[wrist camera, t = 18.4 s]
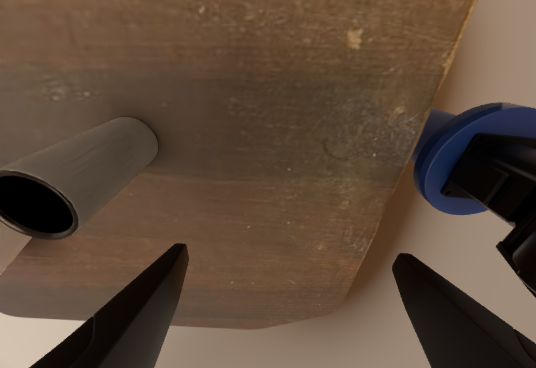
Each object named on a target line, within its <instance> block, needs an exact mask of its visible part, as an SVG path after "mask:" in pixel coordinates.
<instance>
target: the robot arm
mask: <svg viewBox="0 0 536 368" xmlns="http://www.w3.org/2000/svg"><path fill="white" fill-rule="evenodd" d="M479 138H480V139H479ZM440 193H441V194H442V195H443V196H445V197H453V198H465V199H474V200H475V201H477V202H478V203H480V204H481V205H482V206H484V207H485V208H487V209H488V210H490V211H491V212H492V213H494V214H495V215H497V216H498V217H500V218H501V219H502V220H504V221H505V222H507V223H508V224H509V225H511V226H513V227H514V228H513V230H512V231H511V232H510V233H509V234H508V235H507V236H506V237H505V239H504V240H503V241H500V242H499V243H498V244H497V245H496V248H497V249H498V251H499V252H500V253H501V254H502V256H503V257H504V258H505V260H506V261H507V262H508V264H509V265H510V266H511V268H512V269H513V270H514V271H515V273H516V274H517V276H518V277H519V278H520V280H521V281H522V282H523V284H524V285H525V286H526V287H527V289H528V290H529V291H530V292H531V293H532V294H533V295H534V296H535V297H536V138H527V137H518V136H509V135H500V134H490V133H477V134H475V135H474V136H473V137H472V139H471V141H470V142H469V144H468V146H467V147H466V149H465V151H464V152H463V154H462V156H461V157H460V159H459V161H458V162H457V164H456V166H455V167H454V169H453V171H452V172H451V174H450V175H449V177H448V179H447V180H446V182H445V184H444V185H443V187H442V189H441V191H440ZM188 261H189V256H188V250H187V245H186V244H182V243H176V244H174V245H173V246H172V247H171V248H170V249H168V250H167V251H166V252H165V253H164V254H163V255H162V256H160V257H159V258H158V259H157V260H156V261H155V262H154V263H152V264H151V265H150V266H149V267H148V268H147V269H146V270H144V271H143V272H142V273H141V274H140V275H139V276H138V277H136V278H135V279H134V280H133V281H132V282H131V283H130V284H128V285H127V286H126V287H125V288H124V289H123V290H122V291H120V292H119V293H118V294H117V295H116V296H115V297H114V298H112V299H111V300H110V301H109V302H108V303H107V304H106V305H104V306H103V307H102V308H101V309H100V310H99V311H97V312H96V313H95V314H94V317H91V318H89V319H88V320H87V321H86V322H85V323H84V324H83V325H81V326H80V327H79V328H78V329H77V330H76V331H75V332H73V333H72V334H71V335H70V336H68V337H67V338H66V339H65V340H64V341H63V342H61V343H60V344H59V345H57V346H56V347H55V348H54V349H52V350H51V351H50V352H49V353H47V354H46V355H45V356H44V357H43V358H41V359H40V360H38V361H37V362H36V363H35V364H33V365H32V366H31V367H29V368H154V367H155V364H156V361H157V358H158V356H159V353H160V350H161V348H162V345H163V342H164V339H165V337H166V334H167V331H168V329H169V326H170V323H171V320H172V318H173V315H174V312H175V309H176V307H177V304H178V301H179V297H180V294H181V290H182V286H183V282H184V278H185V274H186V270H187V266H188ZM392 271H393V274H394V277H395V280H396V283H397V286H398V289H399V292H400V295H401V298H402V301H403V303H404V306H405V309H406V311H407V314H408V316H409V318H410V320H411V323H412V325H413V327H414V329H415V332H416V334H417V336H418V338H419V341H420V343H421V345H422V347H423V350H424V352H425V354H426V356H427V359H428V361H429V363H430V365H431V368H536V344H535V343H534V342H532V341H531V340H530V339H528V338H527V337H525V336H524V335H523V334H521V333H520V332H519V331H517V330H515V329H513V327H512V326H510V325H509V324H507V323H506V322H505V321H503V320H502V319H500V318H499V317H498V316H496V315H495V314H493V313H492V312H491V311H489V310H488V309H486V308H485V307H484V306H482V305H481V304H480V303H478V302H477V301H475V300H474V299H473V298H471V297H470V296H468V295H467V294H466V293H464V292H463V291H461V290H460V289H459V288H457V287H456V286H455V285H453V284H452V283H450V282H449V281H448V280H446V279H445V278H443V277H442V276H441V275H439V274H438V273H436V272H435V271H434V270H432V269H431V268H430V267H428V266H427V265H425V264H424V263H423V262H421V261H420V260H418V259H417V258H416V257H414V256H413V255H411V254H408V253H400V254H399V255H398V256H397V258H396V260H395V262H394V264H393V266H392Z"/></svg>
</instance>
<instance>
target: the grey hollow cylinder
mask: <svg viewBox="0 0 536 368" xmlns="http://www.w3.org/2000/svg"><path fill="white" fill-rule="evenodd" d="M157 152H158V141H157V138H156V136H155V134H154V133H153V131H152V130H151V129H150V128H149V127H148V126H147V125H146V124H145V123H143V122H142V121H140V120H138V119H135V118H132V117H118V118H115V119H112V120H110V121H108V122H105V123H103V124H101V125H98V126H96V127H94V128H91V129H89V130H87V131H84V132H82V133H80V134H77V135H75V136H73V137H70V138H68V139H66V140H63V141H61V142H59V143H56V144H54V145H52V146H49V147H47V148H45V149H42V150H40V151H38V152H36V153H33V154H31V155H29V156H26V157H24V158H22V159H19V160H17V161H15V162H12V163H10V164H8V165H5V166H3V167H1V168H0V222H2V223H3V224H5V225H6V226H8V227H9V228H11V229H13V230H15V231H17V232H19V233H21V234H24V235H27V236H30V237H33V238H37V239H43V240H60V239H64V238H67V237H70V236H72V235H73V234H74V233H75V232H77V231H78V230H79V229H80V228H81V227H82V226H83V225H84V224H85V223H86V222H87V221H88V220H89V219H90V218H92V217H93V216H94V215H95V214H96V213H97V212H98V211H99V210H100V209H101V208H102V207H103V206H104V205H105V204H106V203H108V202H109V201H110V200H111V199H112V198H113V197H114V196H115V195H116V194H117V193H118V192H119V191H120V190H121V189H122V188H123V187H125V186H126V185H127V184H128V183H129V182H130V181H131V180H132V179H133V178H134V177H135V176H136V175H137V174H138V173H139V172H141V171H142V170H143V169H144V168H145V167H146V166H147V165H148V164H149V163H150V162H151V161H152V160H153V159H154V158H155V156H156V155H157Z"/></svg>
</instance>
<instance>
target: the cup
mask: <svg viewBox="0 0 536 368" xmlns="http://www.w3.org/2000/svg"><path fill="white" fill-rule="evenodd" d="M31 238H32V237H30V236H27V235H24V234H21V233H19V232H17V231H15V230H13V229H11V228H9V227H8V226H6V225H5V224H3V223H2V222H0V275H1V274H2V273H3V271H4V270H5V269H6V268H7V267H8V265H9V264H10V263H11V262H12V261H13V260H14V258H15V257H16V256H17V255H18V254H19V252H20V251H21V250H22V249H23V248H24V247H25V245H26V244H27V243H28V242H29V241H30V240H31Z"/></svg>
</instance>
